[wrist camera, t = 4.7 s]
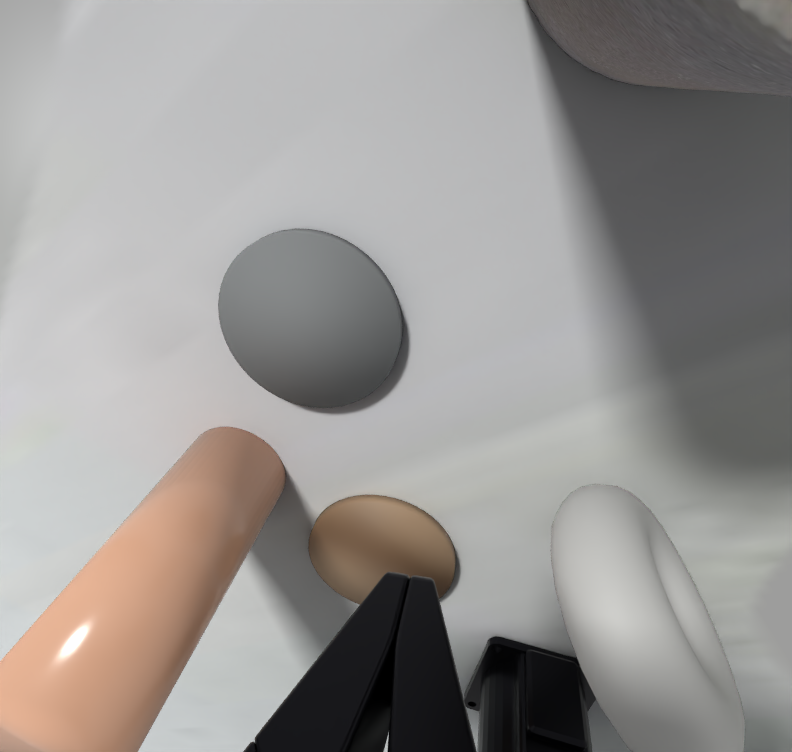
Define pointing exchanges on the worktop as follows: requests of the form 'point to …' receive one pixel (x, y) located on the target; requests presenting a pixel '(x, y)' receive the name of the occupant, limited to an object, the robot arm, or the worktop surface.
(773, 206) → the worktop surface
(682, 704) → the donut
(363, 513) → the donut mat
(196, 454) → the post
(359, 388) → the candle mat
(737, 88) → the pillar candle
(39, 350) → the worktop surface
